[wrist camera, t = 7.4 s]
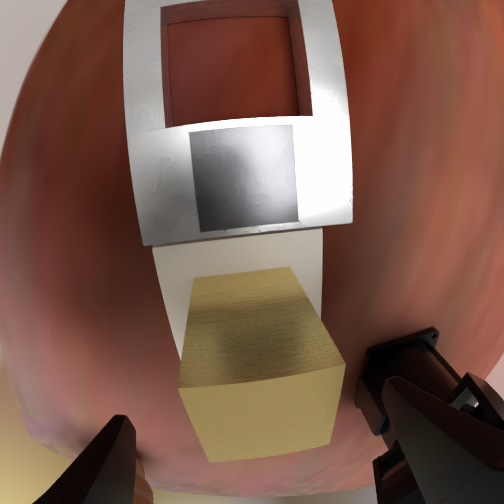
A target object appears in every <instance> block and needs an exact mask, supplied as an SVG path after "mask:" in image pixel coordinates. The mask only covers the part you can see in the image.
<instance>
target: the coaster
mask: <svg viewBox="0 0 504 504" xmlns="http://www.w3.org/2000/svg"><path fill="white" fill-rule="evenodd" d="M152 251H153V256H154V261H155V265H156V270H157V274H158V279H159V283H160V287H161V291H162V296H163V300H164V304H165V307H166V311H167V315H168V319H169V323H170V326H171V330H172V333H173V337H174V340H175V344H176V347H177V350H178V354H179V357H180V360H181V357H182V350H183V343H184V336H185V329H186V323H187V316H188V310H189V304H190V298H191V292H192V286H193V281H194V278H199V277H208V276H216V275H225V274H233V273H242V272H250V271H258V270H266V269H274V268H282V267H290V268H291V269H292V271H293V273H294V274H295V276H296V278H297V280H298V281H299V283H300V285H301V286H302V288H303V290H304V291H305V293H306V295H307V297H308V298H309V300H310V302H311V304H312V305H313V307H314V309H315V310H316V312H317V314H318V316H319V317H320V319H321V299H322V251H323V233H322V228H321V227H320V226H315V227H305V228H295V229H286V230H276V231H267V232H258V233H249V234H240V235H231V236H222V237H214V238H205V239H197V240H189V241H181V242H173V243H165V244H157V245H154V246H153V247H152Z"/></svg>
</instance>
